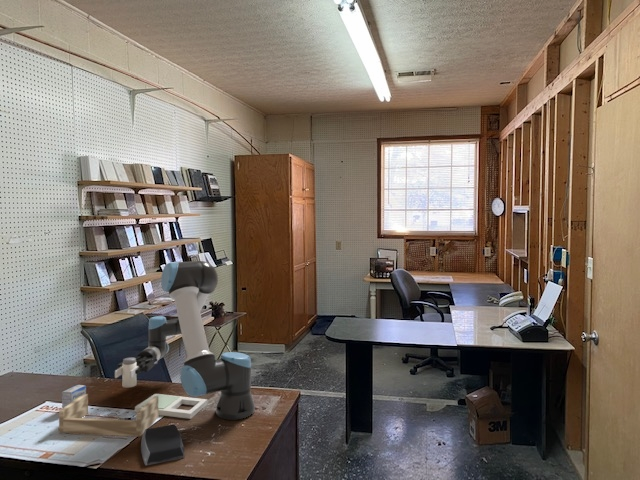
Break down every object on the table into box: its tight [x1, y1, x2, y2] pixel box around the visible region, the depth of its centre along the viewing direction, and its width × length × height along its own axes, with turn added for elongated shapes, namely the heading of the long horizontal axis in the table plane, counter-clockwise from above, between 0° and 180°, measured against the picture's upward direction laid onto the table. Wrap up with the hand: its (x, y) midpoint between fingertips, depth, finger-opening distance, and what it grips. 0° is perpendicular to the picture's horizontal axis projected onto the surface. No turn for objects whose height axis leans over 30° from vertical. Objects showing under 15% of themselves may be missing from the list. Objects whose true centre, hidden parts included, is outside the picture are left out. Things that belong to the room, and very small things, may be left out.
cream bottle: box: [121, 357, 138, 388], centre depth 176 cm, size 5×5×10 cm
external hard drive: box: [140, 424, 186, 466], centre depth 147 cm, size 13×19×4 cm
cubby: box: [58, 393, 159, 437], centre depth 162 cm, size 16×29×8 cm, turn 88°
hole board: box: [134, 393, 209, 420], centre depth 177 cm, size 24×14×2 cm, turn 78°
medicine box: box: [61, 384, 87, 409], centre depth 174 cm, size 8×4×9 cm, turn 168°
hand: (123, 374), depth 171 cm, fingers closed on cream bottle, 5 cm apart
